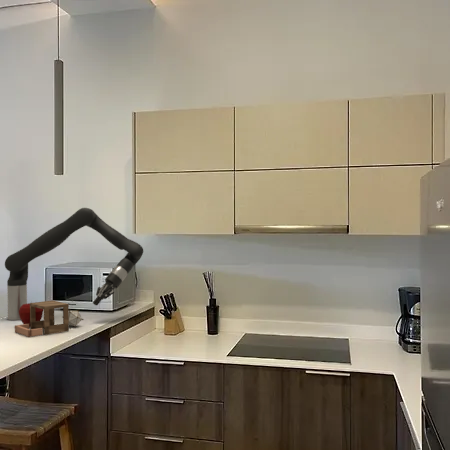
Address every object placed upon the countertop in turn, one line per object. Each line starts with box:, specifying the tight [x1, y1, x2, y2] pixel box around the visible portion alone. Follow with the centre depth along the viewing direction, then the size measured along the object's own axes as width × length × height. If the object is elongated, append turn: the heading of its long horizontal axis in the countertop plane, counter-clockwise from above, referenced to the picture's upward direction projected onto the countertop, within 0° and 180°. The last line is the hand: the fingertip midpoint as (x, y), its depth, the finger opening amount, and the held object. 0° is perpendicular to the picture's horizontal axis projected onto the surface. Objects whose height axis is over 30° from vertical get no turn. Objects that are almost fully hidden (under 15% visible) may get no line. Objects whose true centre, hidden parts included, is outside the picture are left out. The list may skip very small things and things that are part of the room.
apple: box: [19, 302, 44, 328], centre depth 241 cm, size 11×11×12 cm
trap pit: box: [14, 323, 44, 338], centre depth 224 cm, size 15×6×3 cm, turn 44°
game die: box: [61, 308, 84, 328], centre depth 238 cm, size 9×8×10 cm
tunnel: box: [29, 299, 70, 336], centre depth 230 cm, size 16×11×12 cm
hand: (94, 304), depth 246 cm, fingers closed
